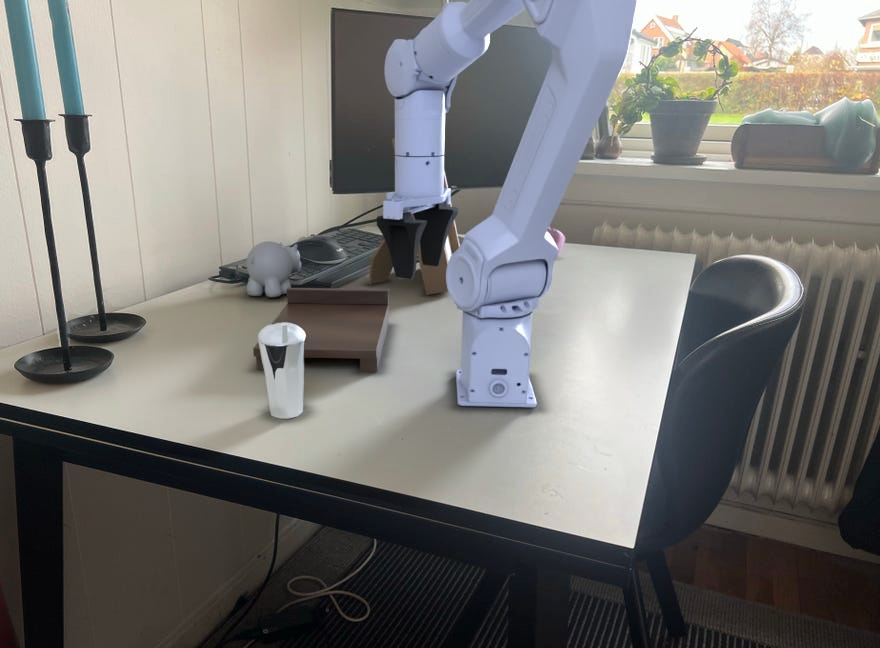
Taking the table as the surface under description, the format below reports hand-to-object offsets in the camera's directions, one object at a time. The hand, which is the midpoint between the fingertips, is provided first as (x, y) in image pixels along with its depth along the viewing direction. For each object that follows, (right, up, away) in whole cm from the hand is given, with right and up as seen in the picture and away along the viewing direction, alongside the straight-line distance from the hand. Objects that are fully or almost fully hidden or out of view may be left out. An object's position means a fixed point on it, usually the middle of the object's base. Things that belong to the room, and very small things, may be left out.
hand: (418, 271), depth 86 cm
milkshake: (-14, -16, -16) cm, 27 cm away
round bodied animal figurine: (-22, 0, +30) cm, 37 cm away
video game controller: (+26, +10, +57) cm, 64 cm away
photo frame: (+1, +3, +38) cm, 38 cm away
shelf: (-11, -9, +4) cm, 15 cm away
